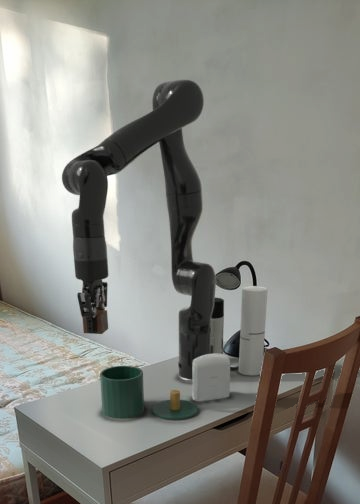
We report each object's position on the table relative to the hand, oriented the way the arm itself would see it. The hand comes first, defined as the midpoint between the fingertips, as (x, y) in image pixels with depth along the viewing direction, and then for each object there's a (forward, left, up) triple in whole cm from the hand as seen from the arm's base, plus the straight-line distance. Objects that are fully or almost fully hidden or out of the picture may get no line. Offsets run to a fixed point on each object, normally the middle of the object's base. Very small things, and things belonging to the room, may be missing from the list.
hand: (96, 329), depth 127 cm
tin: (-3, +5, -21) cm, 22 cm away
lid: (-12, +15, -20) cm, 28 cm away
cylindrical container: (-49, +9, -21) cm, 54 cm away
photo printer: (-25, +15, -21) cm, 36 cm away
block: (0, 0, 0) cm, 0 cm away
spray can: (-47, -5, -21) cm, 52 cm away
